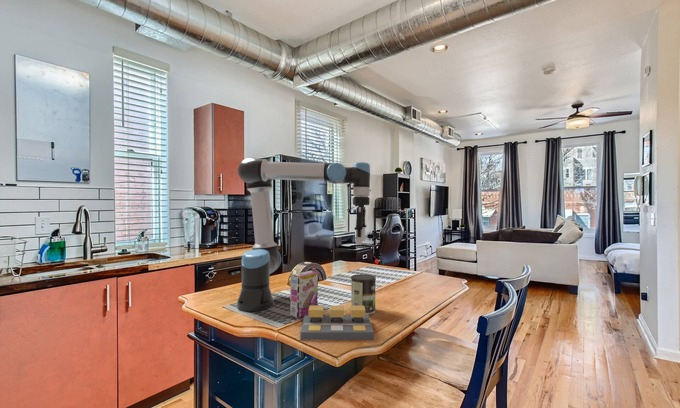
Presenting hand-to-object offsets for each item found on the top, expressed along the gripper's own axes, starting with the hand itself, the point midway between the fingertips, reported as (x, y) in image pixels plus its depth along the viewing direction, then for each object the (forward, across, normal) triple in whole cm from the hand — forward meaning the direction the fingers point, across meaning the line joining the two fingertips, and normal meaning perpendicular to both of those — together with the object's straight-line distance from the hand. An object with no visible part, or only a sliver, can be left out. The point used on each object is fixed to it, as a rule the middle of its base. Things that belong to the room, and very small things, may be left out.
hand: (360, 242), depth 146 cm
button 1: (+24, -35, +12) cm, 44 cm away
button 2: (+24, -33, +5) cm, 41 cm away
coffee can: (+27, -14, -3) cm, 30 cm away
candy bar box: (+27, -22, +20) cm, 40 cm away
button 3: (+24, -32, -2) cm, 40 cm away
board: (+26, -36, +4) cm, 45 cm away
